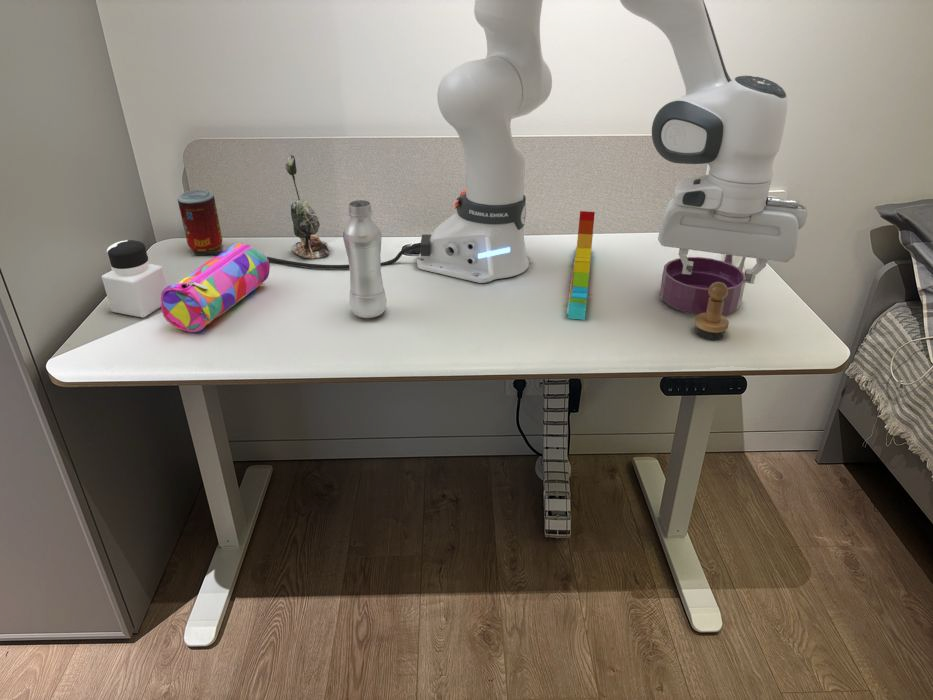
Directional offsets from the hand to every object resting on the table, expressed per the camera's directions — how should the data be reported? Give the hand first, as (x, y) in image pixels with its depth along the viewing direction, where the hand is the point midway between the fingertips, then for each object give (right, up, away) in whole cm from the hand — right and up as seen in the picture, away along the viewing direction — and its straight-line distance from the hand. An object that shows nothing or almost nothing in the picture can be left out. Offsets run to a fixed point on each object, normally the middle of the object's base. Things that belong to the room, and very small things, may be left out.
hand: (717, 277), depth 111 cm
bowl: (+2, -3, +15) cm, 16 cm away
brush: (0, -9, +5) cm, 10 cm away
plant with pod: (-73, +8, +34) cm, 81 cm away
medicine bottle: (-98, -4, +14) cm, 99 cm away
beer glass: (+11, +3, +25) cm, 28 cm away
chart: (-18, +1, +22) cm, 29 cm away
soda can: (-95, +9, +36) cm, 102 cm away
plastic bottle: (-57, -5, +11) cm, 59 cm away
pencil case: (-84, -4, +13) cm, 85 cm away
